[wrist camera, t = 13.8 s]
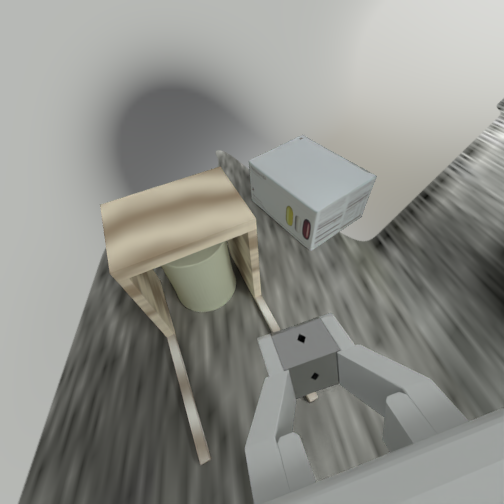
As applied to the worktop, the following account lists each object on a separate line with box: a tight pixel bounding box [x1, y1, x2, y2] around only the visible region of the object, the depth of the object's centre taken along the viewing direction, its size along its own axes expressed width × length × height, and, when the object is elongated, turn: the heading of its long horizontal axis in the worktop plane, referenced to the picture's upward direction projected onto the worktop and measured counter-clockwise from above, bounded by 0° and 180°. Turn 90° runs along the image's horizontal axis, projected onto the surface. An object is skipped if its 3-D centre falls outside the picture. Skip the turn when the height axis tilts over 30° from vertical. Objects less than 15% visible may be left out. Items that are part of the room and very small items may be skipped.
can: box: [161, 241, 236, 312], centre depth 36 cm, size 9×9×12 cm
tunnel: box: [100, 167, 318, 465], centre depth 29 cm, size 24×14×16 cm, turn 25°
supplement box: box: [249, 135, 377, 251], centre depth 46 cm, size 17×13×9 cm
